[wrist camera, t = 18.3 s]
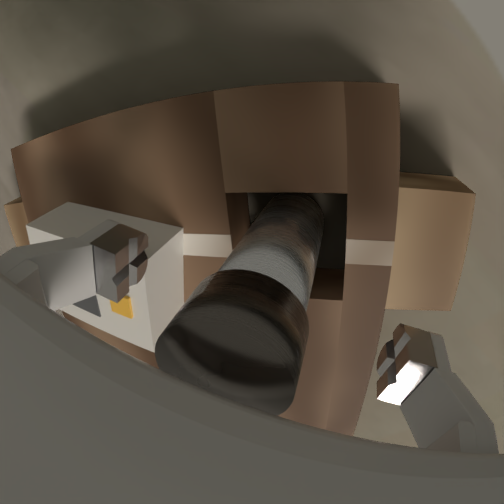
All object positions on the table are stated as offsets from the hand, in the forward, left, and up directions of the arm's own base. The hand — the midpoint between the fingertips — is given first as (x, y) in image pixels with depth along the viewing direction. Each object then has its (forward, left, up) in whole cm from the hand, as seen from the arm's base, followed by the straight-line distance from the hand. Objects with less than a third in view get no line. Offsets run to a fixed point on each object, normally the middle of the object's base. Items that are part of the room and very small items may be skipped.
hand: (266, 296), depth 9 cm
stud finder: (-8, -1, -3) cm, 9 cm away
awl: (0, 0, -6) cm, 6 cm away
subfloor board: (-6, -5, -6) cm, 10 cm away
